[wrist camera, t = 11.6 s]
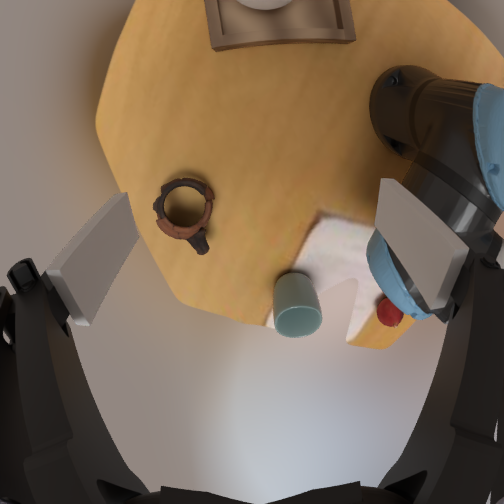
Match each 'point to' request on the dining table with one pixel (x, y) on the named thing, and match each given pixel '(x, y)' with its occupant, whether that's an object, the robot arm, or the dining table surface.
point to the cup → (296, 306)
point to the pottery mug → (190, 233)
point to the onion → (389, 313)
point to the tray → (279, 23)
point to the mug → (264, 4)
